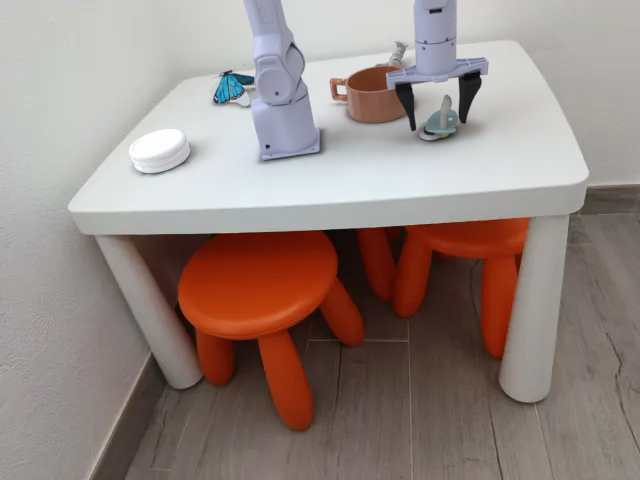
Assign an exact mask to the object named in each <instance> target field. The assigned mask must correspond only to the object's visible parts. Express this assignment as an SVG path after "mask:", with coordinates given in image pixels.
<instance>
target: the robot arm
mask: <svg viewBox="0 0 640 480" xmlns="http://www.w3.org/2000/svg"><path fill="white" fill-rule="evenodd" d="M457 1H458V0H415V1H414V3H413V26H414V27H413V29H414V48H415V64H414V65H411V66H410V65H409V66H408V67H404V69H401V70H397V71H394V72H389V73H386V80H387V87H388V90H393V89H395V91H396V95H397V97H398V99H399V101H400V102H401V104H402V105H403V107H404V109H405V111H406V113H407V114H406V115H407V119H408V123H409V129H410V131H411V132H416V131H417V122H416V116H415V94H414V91H413V85H417V84H424V83H425V84H426V83H430V82H433V83H434V84H440V83H446V82H448V81H449V80H450V79H456V78H458V79H457V80H458V96H459V99H458V113H457V114H458V121H459V122H460V124H461V125H463V124H466V123H467V119H468V115H469V112H470V109H471V106H472V104H473V101H474V100H475V97H476V96H477V94H478V92H479V91H480V89H481V88H482V84H483V79H482V78H481V76H487V75H489V60H488V59H487V57H486V56H482V57H471V58H469V57H468V58H457V35H458V34H457V33H458V32H457V27H458V26H457V25H458V23H457V22H458V19H457V14H458V13H457V11H458V10H457V9H458V5H457V4H458V3H457ZM243 4H244V8H245V11H246V14H247V19H248V22H249V26H250V29H251V32H252V36H253V51H252V52H253V53H252V54H253V55H252V59H253V62H254V67H255V74H254V77H255V78H254V85H253V86H254V89H255V91H256V93H257V95H258V96H259V97H257V98H254V99H252V100H251V116H252V121H253V127H254V130H255V133H256V137H257V141H258V145H259V148H260V151H261V158H262V160H263V161H266V160H273V159H280V158H286V157H294V156H295V157H296V156H301V155H307V154H313V153H314V154H315V153H319V152H320V150H321V149H320V148H321V146H320V143H321V142H320V141H321V139H320V138H321V129H320V127H317V126H316V125H315V121H314V115H313V110H312V105H311V100H310V94H309V89H308V85H307V84H306V83H305V81H304V79H303V77H302V75H303V73H304V71H305V69H306V58H305V55H304V53H303V52H302V50H301V49H300V48H299V46H298V45H297V43H296V41H295V38H294V33H293V32H292V30H291V29H290V28H289V27H288V24H287V20H286V16H285V12H284V8H283V4H282V0H243ZM411 85H412V86H411Z"/></svg>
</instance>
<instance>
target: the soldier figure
mask: <svg viewBox="0 0 640 480" xmlns="http://www.w3.org/2000/svg"><path fill="white" fill-rule="evenodd" d="M394 44H395V46H396V48H395V49H394V50H393V51H392V53H391V56H390V57H389V60H388V61H387V62H384V63H383V62H382V63H377V64H375V66H383V65H393V66H400V67H402V59H403V58H404V55H405V53H406V51H407V48H408V47H409V46H410V44H408V43H407V42H404V41H400V40H396V41H394Z"/></svg>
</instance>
